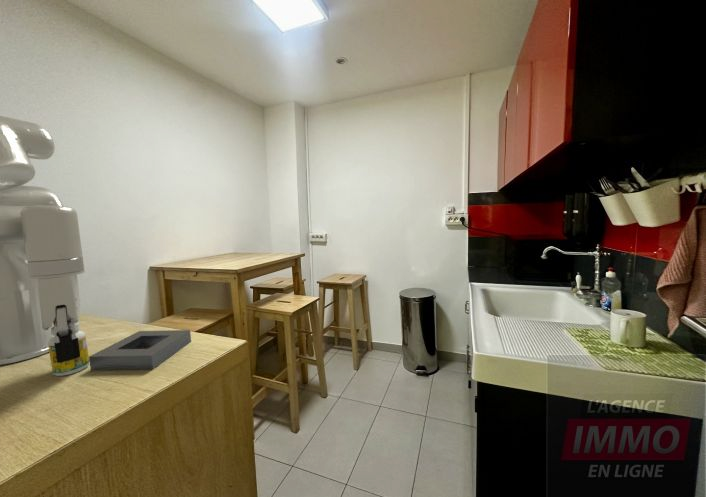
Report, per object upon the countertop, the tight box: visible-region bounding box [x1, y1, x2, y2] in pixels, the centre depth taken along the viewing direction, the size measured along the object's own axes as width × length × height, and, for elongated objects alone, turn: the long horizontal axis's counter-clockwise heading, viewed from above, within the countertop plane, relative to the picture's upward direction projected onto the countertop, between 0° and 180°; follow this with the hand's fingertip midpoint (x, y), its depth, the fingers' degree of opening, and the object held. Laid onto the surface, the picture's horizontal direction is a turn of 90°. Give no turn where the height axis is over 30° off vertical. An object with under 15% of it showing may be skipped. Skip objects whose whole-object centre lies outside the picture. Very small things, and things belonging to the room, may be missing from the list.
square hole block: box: [89, 329, 192, 372], centre depth 63 cm, size 13×13×3 cm
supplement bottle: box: [48, 321, 90, 377], centre depth 56 cm, size 5×5×10 cm
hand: (69, 353), depth 57 cm, fingers closed on supplement bottle, 5 cm apart
